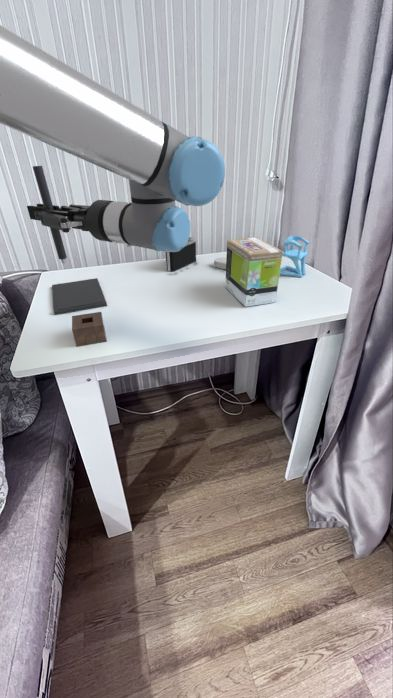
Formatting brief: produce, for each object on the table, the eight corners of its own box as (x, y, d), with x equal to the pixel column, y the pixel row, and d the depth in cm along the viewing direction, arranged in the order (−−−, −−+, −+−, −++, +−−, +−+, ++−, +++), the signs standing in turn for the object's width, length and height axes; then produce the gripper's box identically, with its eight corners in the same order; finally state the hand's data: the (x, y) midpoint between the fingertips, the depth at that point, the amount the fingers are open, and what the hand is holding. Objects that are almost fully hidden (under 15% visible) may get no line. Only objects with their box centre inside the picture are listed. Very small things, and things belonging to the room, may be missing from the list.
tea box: (277, 302, 91) (284, 250, 82) (244, 308, 88) (248, 254, 80) (253, 283, 103) (257, 235, 94) (224, 287, 100) (225, 238, 92)
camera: (184, 257, 124) (183, 230, 118) (198, 261, 120) (197, 233, 115) (157, 268, 114) (155, 240, 109) (172, 272, 111) (170, 243, 105)
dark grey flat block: (52, 287, 102) (51, 284, 101) (97, 280, 106) (97, 277, 105) (54, 315, 86) (53, 311, 86) (107, 305, 91) (106, 302, 90)
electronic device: (220, 236, 113) (257, 242, 105) (220, 263, 119) (255, 271, 111) (210, 239, 110) (248, 246, 102) (211, 267, 115) (247, 275, 107)
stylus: (58, 264, 75) (30, 166, 64) (63, 261, 77) (36, 165, 66) (65, 264, 75) (38, 166, 64) (69, 262, 76) (43, 165, 65)
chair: (298, 279, 104) (304, 242, 97) (275, 274, 108) (279, 237, 102) (308, 272, 109) (315, 236, 102) (285, 267, 113) (290, 232, 107)
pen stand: (76, 346, 74) (71, 329, 71) (76, 332, 79) (71, 315, 76) (106, 341, 75) (103, 324, 73) (104, 327, 81) (101, 311, 78)
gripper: (90, 252, 59) (10, 236, 69) (140, 233, 70) (65, 221, 79) (81, 208, 55) (-3, 198, 65) (136, 195, 65) (57, 188, 75)
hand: (34, 211), depth 72 cm, fingers closed on stylus, 2 cm apart
